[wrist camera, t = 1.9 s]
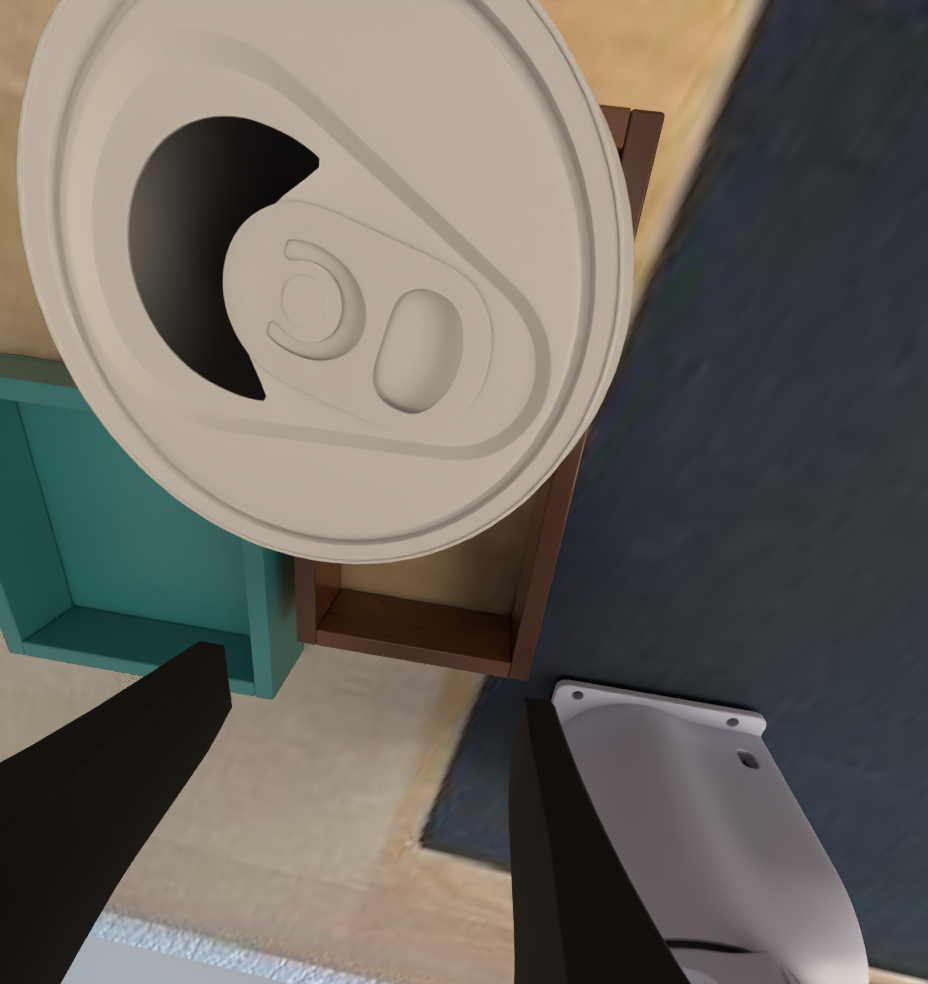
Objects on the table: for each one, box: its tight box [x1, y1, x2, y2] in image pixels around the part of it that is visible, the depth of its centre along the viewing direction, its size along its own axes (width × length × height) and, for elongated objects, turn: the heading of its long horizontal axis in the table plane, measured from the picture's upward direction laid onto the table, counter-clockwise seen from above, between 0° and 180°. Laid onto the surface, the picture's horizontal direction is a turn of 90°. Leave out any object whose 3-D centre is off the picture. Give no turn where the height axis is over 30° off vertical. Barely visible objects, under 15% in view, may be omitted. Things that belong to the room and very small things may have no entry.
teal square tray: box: [0, 353, 303, 700], centre depth 18 cm, size 12×13×3 cm
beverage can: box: [16, 0, 634, 564], centre depth 10 cm, size 6×6×12 cm
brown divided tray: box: [294, 105, 664, 681], centre depth 15 cm, size 9×18×3 cm, turn 173°
